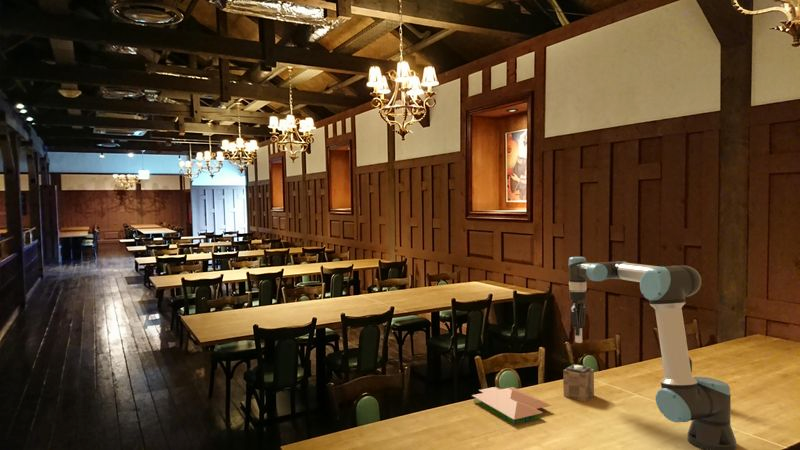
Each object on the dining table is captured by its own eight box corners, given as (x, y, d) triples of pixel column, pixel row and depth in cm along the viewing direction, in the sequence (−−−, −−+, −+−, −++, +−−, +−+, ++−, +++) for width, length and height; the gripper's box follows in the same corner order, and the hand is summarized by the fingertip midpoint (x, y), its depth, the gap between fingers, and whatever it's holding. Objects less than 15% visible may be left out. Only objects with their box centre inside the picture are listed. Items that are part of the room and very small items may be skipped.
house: (509, 392, 241) (509, 374, 241) (558, 416, 211) (558, 397, 211) (468, 400, 231) (468, 382, 231) (514, 427, 201) (513, 407, 201)
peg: (581, 394, 230) (580, 368, 230) (572, 392, 233) (572, 366, 233) (584, 392, 233) (584, 366, 233) (576, 390, 236) (576, 364, 236)
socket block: (584, 401, 226) (584, 372, 226) (563, 396, 233) (563, 368, 233) (594, 395, 233) (593, 367, 233) (573, 390, 240) (572, 363, 240)
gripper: (575, 288, 239) (576, 338, 239) (563, 291, 230) (564, 343, 230) (591, 289, 234) (592, 340, 234) (579, 293, 225) (580, 346, 225)
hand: (578, 342), depth 232 cm, fingers closed
